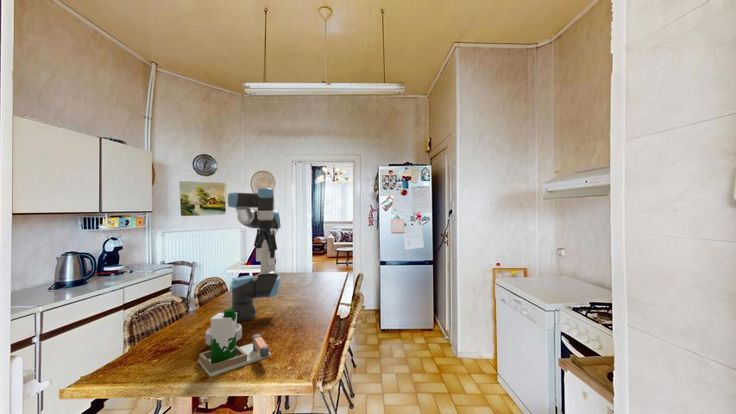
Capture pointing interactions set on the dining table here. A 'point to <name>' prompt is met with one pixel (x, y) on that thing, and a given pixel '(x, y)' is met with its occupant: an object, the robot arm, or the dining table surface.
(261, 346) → the leg bar
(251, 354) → the seat board
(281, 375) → the dining table surface
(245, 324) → the dining table surface
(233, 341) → the soya milk
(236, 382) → the dining table surface
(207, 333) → the paper bowls
